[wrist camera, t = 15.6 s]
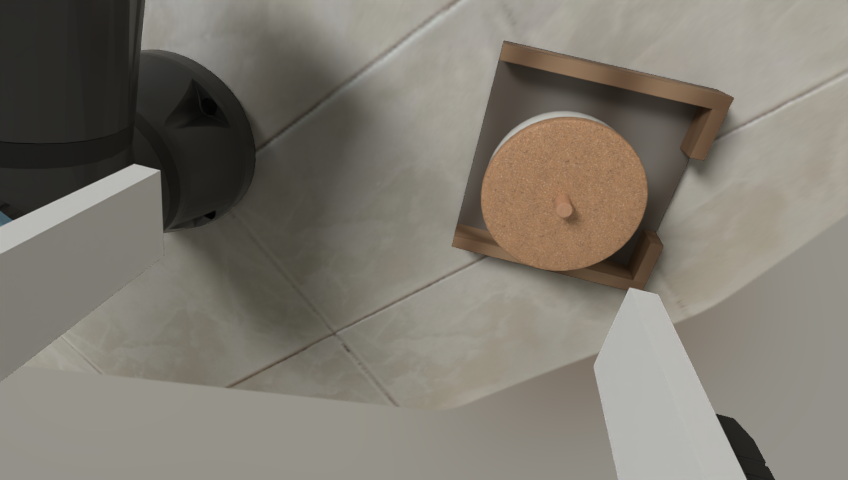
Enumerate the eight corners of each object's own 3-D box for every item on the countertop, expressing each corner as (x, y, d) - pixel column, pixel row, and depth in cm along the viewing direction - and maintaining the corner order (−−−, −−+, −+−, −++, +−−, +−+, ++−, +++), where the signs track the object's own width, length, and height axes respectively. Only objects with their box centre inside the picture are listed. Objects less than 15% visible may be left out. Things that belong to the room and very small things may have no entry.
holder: (455, 230, 45) (451, 246, 42) (503, 40, 38) (503, 44, 35) (632, 274, 44) (641, 293, 42) (717, 89, 37) (733, 97, 34)
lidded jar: (645, 111, 38) (683, 146, 30) (599, 238, 43) (620, 299, 34) (502, 83, 39) (500, 109, 30) (473, 211, 43) (464, 264, 35)
